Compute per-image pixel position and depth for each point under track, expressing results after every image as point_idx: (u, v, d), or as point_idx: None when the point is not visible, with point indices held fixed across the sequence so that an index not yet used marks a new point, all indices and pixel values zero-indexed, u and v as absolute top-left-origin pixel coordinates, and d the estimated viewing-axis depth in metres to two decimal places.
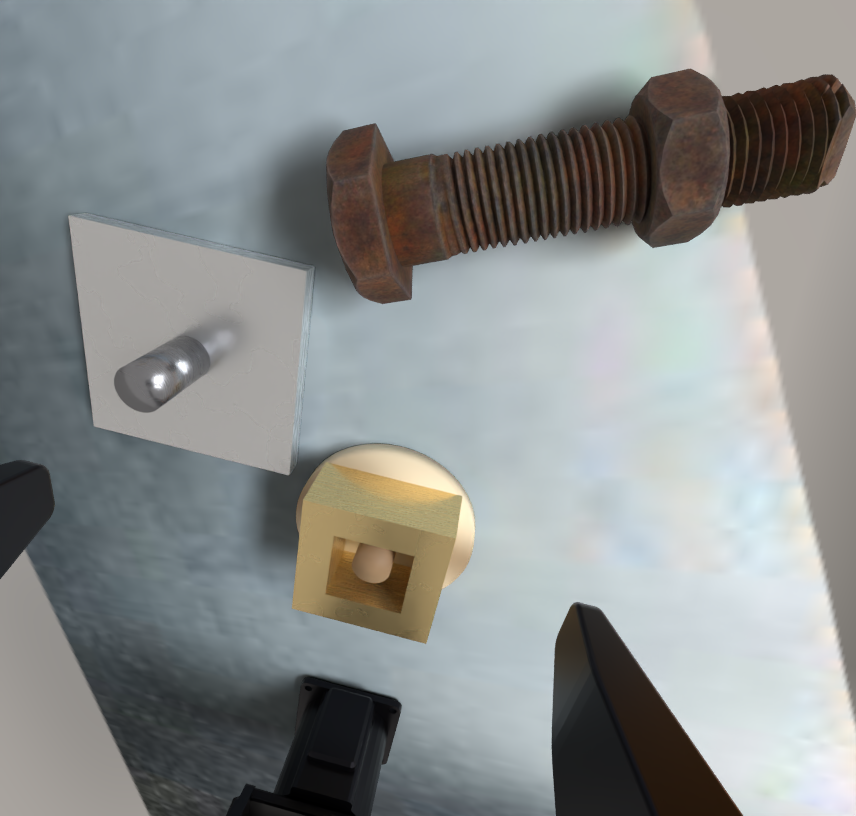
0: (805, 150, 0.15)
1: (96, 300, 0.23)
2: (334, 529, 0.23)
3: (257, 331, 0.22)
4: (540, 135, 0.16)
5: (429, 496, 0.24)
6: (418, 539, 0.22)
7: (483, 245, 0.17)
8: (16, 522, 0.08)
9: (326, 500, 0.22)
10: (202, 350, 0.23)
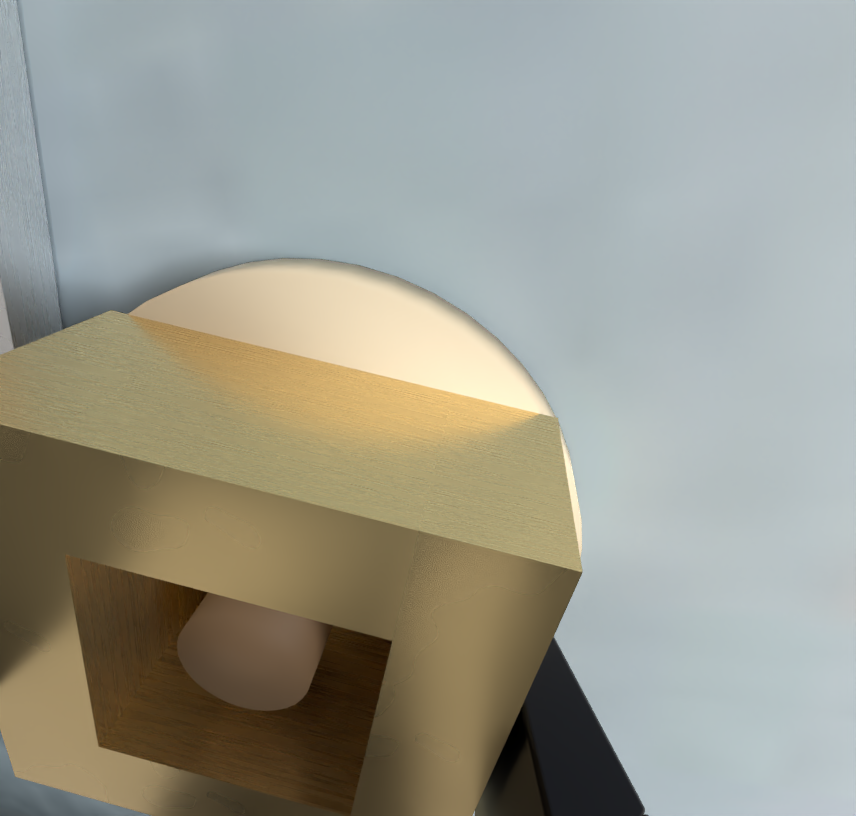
0: None
1: None
2: (63, 528, 0.05)
3: None
4: None
5: (449, 413, 0.07)
6: (407, 573, 0.05)
7: None
8: None
9: (15, 404, 0.05)
10: None
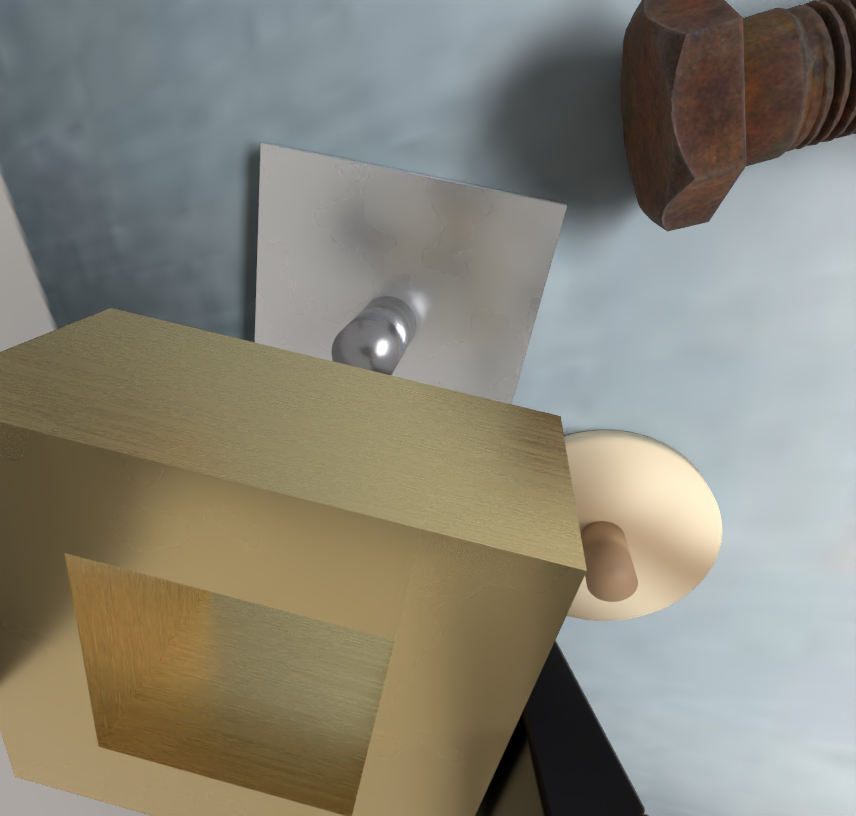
0: None
1: (280, 254, 0.18)
2: (62, 526, 0.05)
3: (485, 288, 0.18)
4: None
5: (451, 411, 0.07)
6: (410, 572, 0.05)
7: (846, 127, 0.13)
8: None
9: (14, 401, 0.05)
10: (411, 313, 0.18)
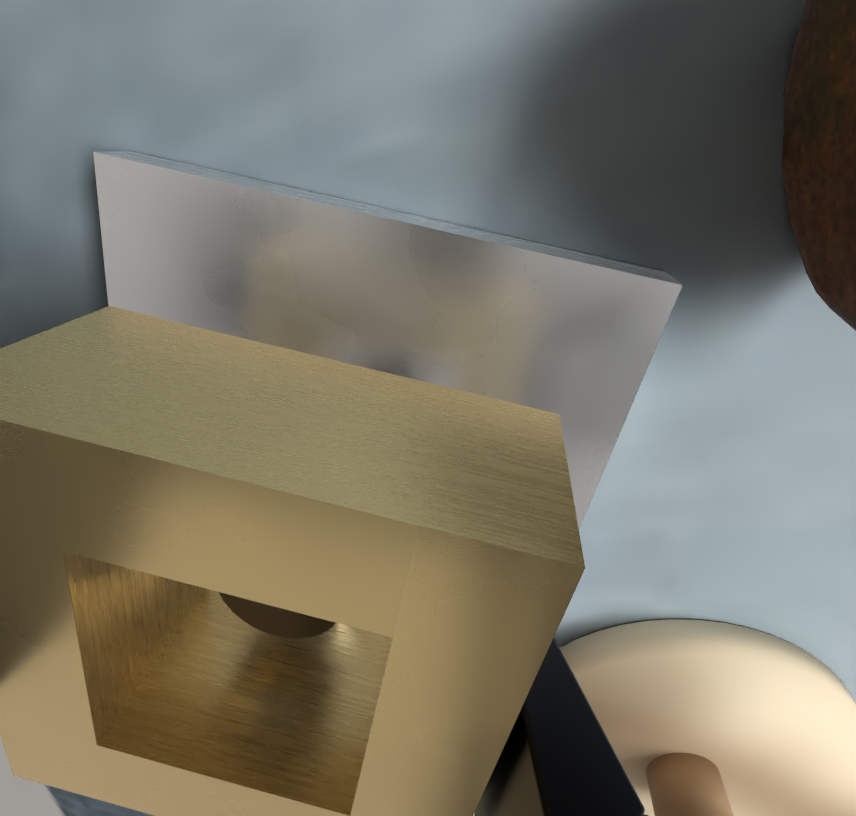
0: None
1: None
2: (61, 524, 0.05)
3: None
4: None
5: (449, 409, 0.07)
6: (408, 569, 0.05)
7: None
8: None
9: (11, 398, 0.05)
10: None
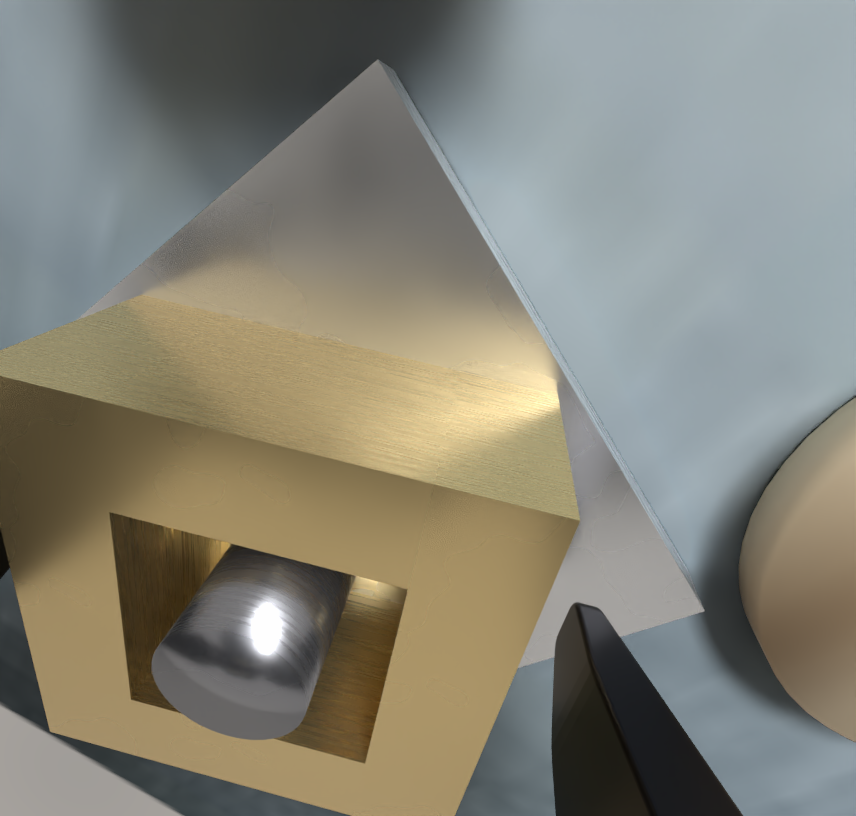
0: None
1: None
2: (109, 487, 0.06)
3: (394, 342, 0.08)
4: None
5: (457, 389, 0.07)
6: (423, 524, 0.06)
7: None
8: None
9: (67, 374, 0.06)
10: None
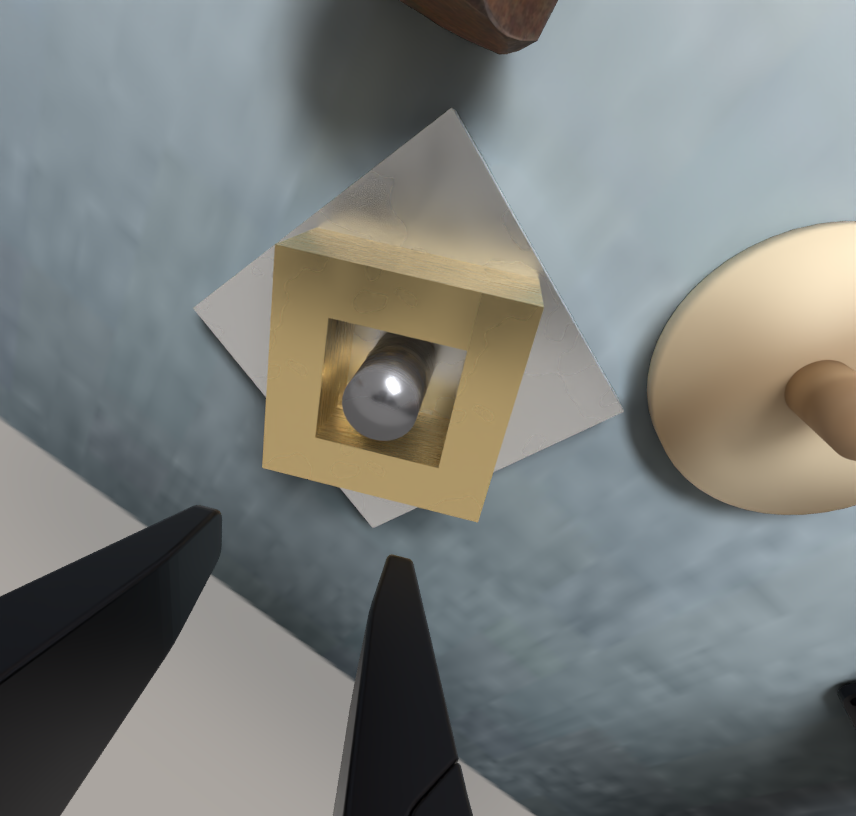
0: None
1: None
2: (330, 304, 0.13)
3: (452, 251, 0.15)
4: None
5: (487, 271, 0.14)
6: (476, 314, 0.13)
7: None
8: (198, 570, 0.08)
9: (315, 250, 0.13)
10: None
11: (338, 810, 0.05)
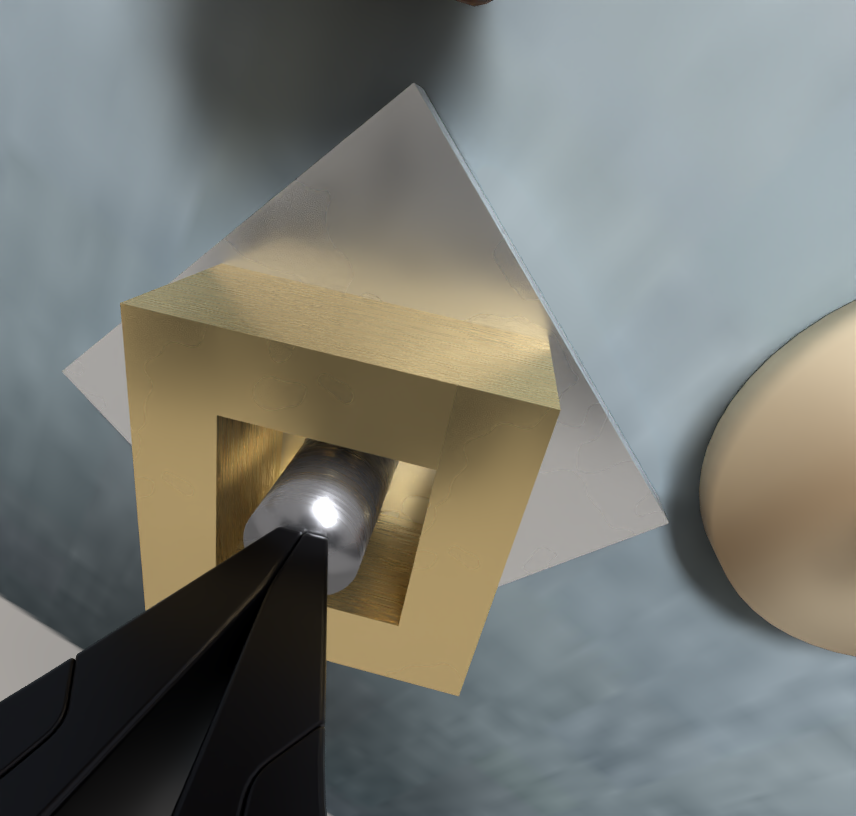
0: None
1: None
2: (217, 395, 0.08)
3: (421, 299, 0.10)
4: None
5: (470, 333, 0.10)
6: (449, 417, 0.08)
7: None
8: None
9: (191, 310, 0.08)
10: None
11: None
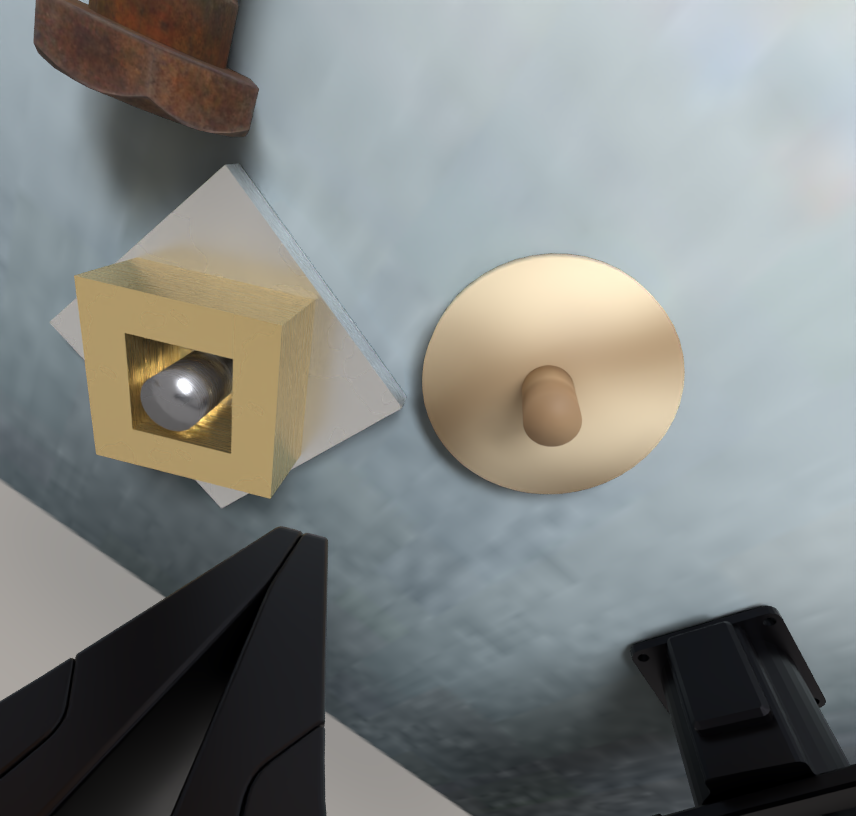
0: None
1: None
2: (124, 322, 0.16)
3: (245, 276, 0.18)
4: None
5: (267, 294, 0.18)
6: (233, 330, 0.16)
7: None
8: None
9: (110, 279, 0.16)
10: None
11: None
